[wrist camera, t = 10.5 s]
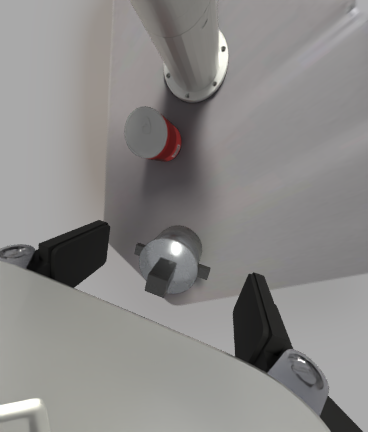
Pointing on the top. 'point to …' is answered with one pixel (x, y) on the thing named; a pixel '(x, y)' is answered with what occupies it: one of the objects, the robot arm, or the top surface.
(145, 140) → the canned food
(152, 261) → the lid
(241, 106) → the top surface
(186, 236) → the pot
